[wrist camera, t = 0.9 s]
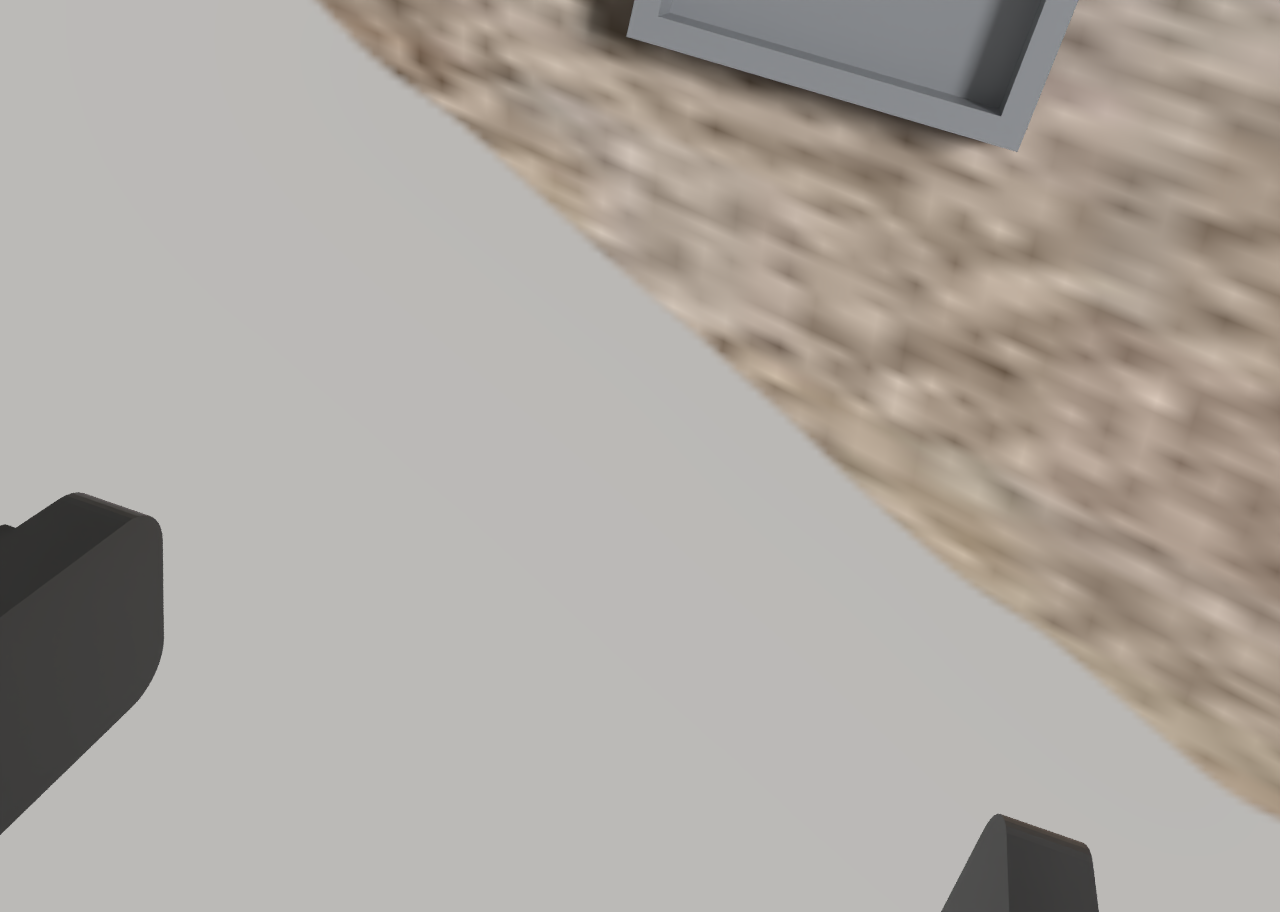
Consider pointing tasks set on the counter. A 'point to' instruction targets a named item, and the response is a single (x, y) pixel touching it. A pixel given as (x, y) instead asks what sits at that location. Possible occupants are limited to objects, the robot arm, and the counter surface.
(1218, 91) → the counter surface
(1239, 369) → the counter surface
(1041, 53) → the tray
